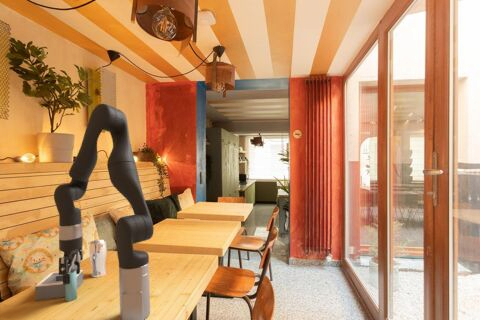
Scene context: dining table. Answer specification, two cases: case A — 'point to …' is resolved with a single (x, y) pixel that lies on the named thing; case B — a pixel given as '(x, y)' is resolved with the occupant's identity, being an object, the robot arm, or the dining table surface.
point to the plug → (72, 285)
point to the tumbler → (98, 257)
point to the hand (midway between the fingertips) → (71, 278)
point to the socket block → (54, 286)
